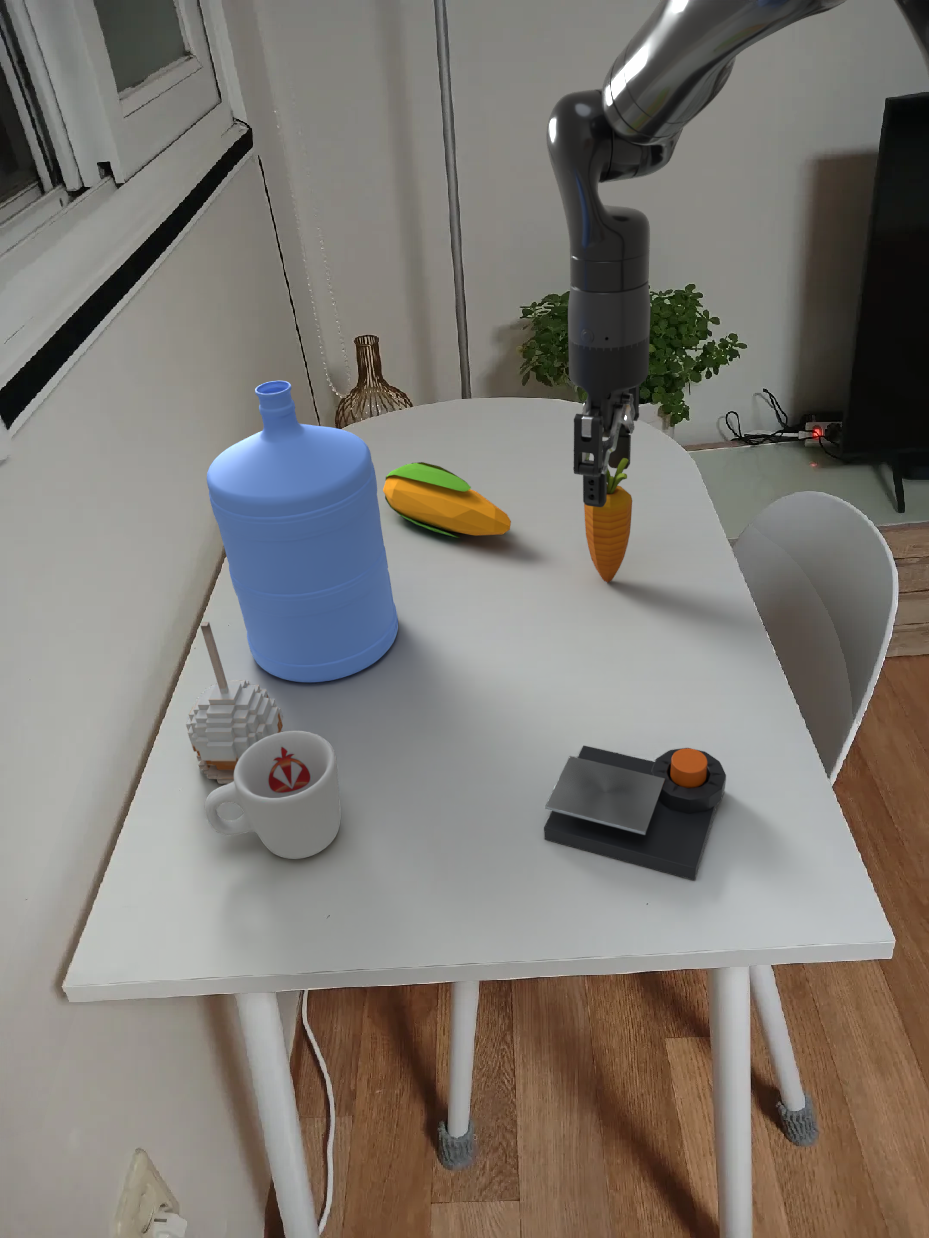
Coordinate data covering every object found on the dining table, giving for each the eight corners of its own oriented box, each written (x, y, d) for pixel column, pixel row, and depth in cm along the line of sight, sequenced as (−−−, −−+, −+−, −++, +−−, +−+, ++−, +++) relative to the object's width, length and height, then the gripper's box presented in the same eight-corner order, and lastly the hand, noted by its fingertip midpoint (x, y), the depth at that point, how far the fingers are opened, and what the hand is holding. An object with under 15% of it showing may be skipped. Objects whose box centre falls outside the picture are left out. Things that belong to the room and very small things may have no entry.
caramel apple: (295, 728, 89) (262, 596, 81) (274, 788, 83) (237, 652, 74) (216, 728, 90) (175, 597, 82) (189, 787, 84) (142, 653, 75)
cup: (223, 893, 74) (197, 822, 70) (217, 820, 81) (194, 751, 76) (358, 857, 76) (342, 786, 71) (342, 788, 82) (327, 719, 78)
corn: (404, 441, 121) (529, 480, 110) (414, 493, 126) (534, 535, 114) (363, 467, 117) (488, 510, 106) (375, 520, 122) (496, 566, 110)
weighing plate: (665, 780, 76) (665, 778, 76) (645, 835, 72) (645, 832, 71) (569, 758, 79) (569, 755, 79) (545, 808, 75) (544, 806, 74)
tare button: (709, 768, 77) (710, 752, 76) (701, 792, 75) (703, 776, 74) (675, 760, 78) (676, 744, 77) (666, 783, 76) (667, 767, 75)
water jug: (368, 695, 92) (319, 428, 76) (225, 677, 97) (149, 420, 80) (419, 604, 104) (385, 357, 88) (289, 592, 109) (234, 353, 92)
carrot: (627, 568, 107) (630, 446, 98) (632, 593, 103) (636, 468, 94) (583, 570, 107) (581, 449, 99) (586, 595, 103) (585, 471, 94)
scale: (728, 783, 79) (731, 757, 77) (699, 882, 71) (702, 855, 70) (586, 750, 84) (586, 724, 82) (544, 839, 76) (542, 813, 74)
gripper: (626, 361, 82) (623, 524, 92) (667, 308, 92) (660, 459, 102) (544, 354, 85) (549, 513, 94) (593, 304, 95) (593, 451, 105)
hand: (607, 485), depth 98 cm, fingers open, 8 cm apart
